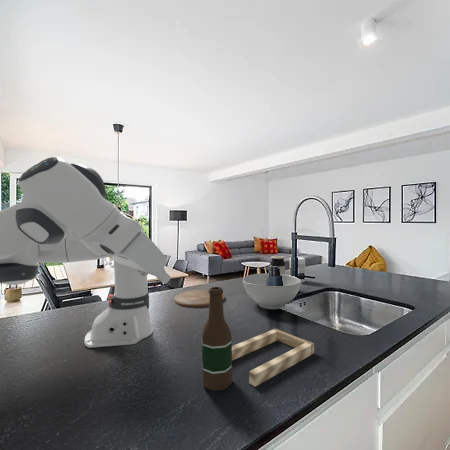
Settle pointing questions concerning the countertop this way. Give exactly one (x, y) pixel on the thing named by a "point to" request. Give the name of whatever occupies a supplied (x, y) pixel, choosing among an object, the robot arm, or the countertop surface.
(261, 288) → the decorative bowl
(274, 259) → the travel mug
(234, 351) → the u rest
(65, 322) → the countertop surface
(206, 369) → the beer bottle
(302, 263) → the supplement tub
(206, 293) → the trivet
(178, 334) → the countertop surface
